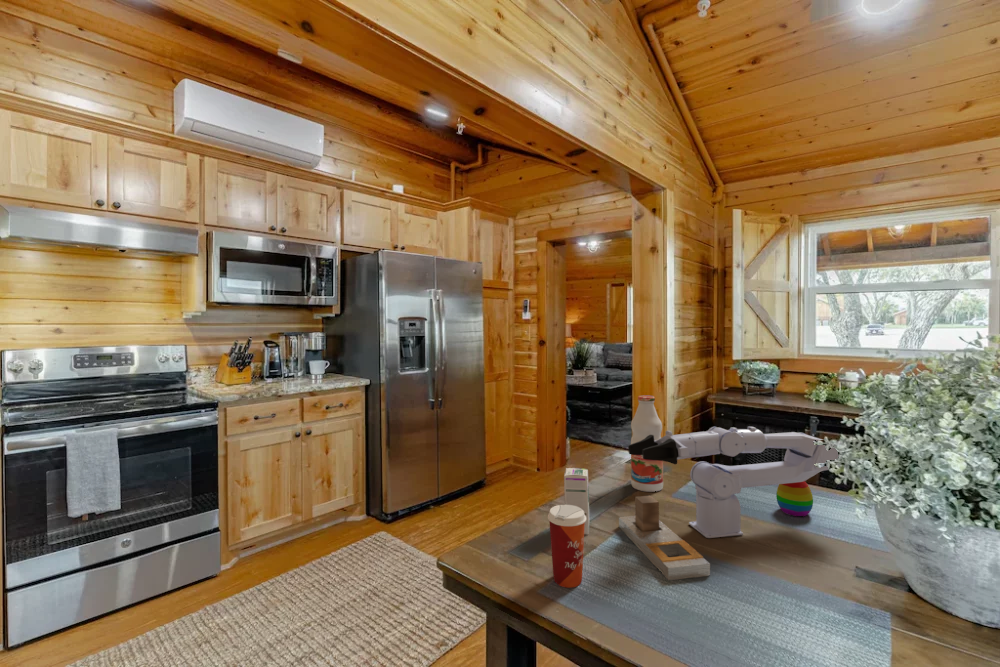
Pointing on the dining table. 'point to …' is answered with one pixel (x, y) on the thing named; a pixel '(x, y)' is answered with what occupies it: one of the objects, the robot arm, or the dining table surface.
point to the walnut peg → (646, 513)
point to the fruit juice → (643, 424)
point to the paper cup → (567, 544)
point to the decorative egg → (795, 498)
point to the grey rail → (666, 551)
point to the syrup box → (577, 491)
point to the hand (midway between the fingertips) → (635, 452)
